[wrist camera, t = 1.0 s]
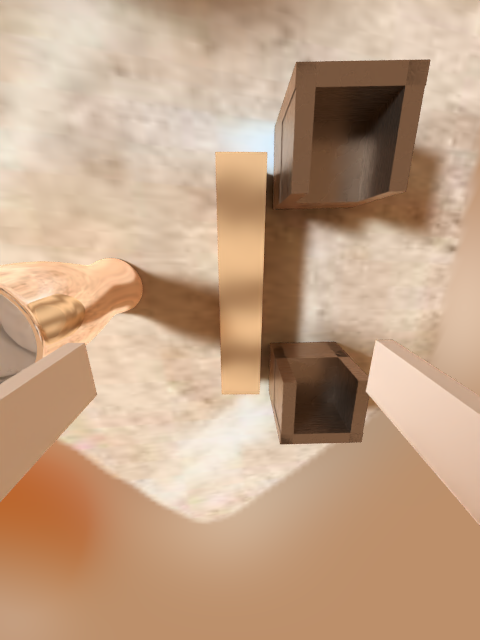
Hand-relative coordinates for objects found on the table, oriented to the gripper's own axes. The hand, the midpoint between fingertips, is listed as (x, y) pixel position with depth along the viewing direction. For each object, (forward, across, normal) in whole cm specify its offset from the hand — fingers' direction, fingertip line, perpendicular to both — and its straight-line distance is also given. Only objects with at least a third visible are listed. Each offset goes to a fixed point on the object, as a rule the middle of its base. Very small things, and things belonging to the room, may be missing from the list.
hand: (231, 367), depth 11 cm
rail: (+17, +1, +1) cm, 17 cm away
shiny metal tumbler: (+17, -13, +1) cm, 22 cm away
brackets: (+17, +8, +1) cm, 19 cm away
